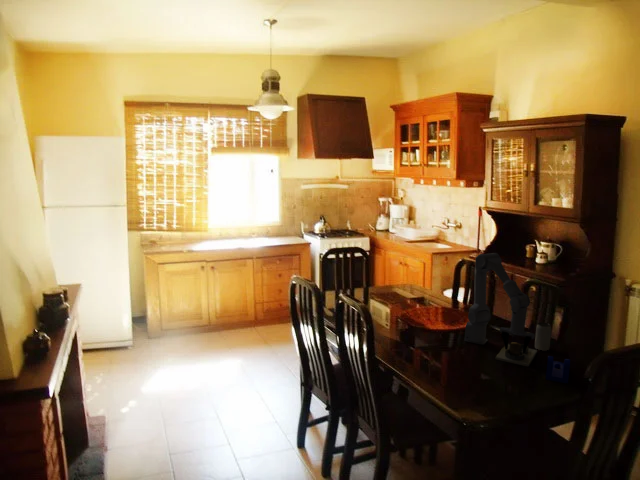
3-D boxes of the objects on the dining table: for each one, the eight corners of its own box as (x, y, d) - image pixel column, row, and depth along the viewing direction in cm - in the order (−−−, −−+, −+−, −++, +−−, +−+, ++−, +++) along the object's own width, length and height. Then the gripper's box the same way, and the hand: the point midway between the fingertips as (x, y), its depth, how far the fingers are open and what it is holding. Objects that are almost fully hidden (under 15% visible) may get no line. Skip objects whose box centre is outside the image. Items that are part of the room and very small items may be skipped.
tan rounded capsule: (508, 357, 237) (509, 344, 236) (511, 354, 240) (512, 341, 239) (518, 359, 234) (519, 346, 233) (521, 356, 238) (522, 343, 237)
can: (550, 351, 247) (553, 327, 245) (535, 350, 248) (538, 326, 246) (547, 346, 253) (550, 322, 251) (533, 345, 255) (535, 321, 252)
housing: (495, 359, 237) (496, 352, 236) (506, 345, 253) (506, 339, 253) (528, 366, 230) (529, 360, 229) (537, 352, 246) (537, 346, 246)
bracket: (567, 384, 214) (570, 363, 212) (545, 379, 217) (547, 359, 216) (568, 367, 230) (570, 348, 228) (547, 364, 233) (549, 344, 232)
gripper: (498, 320, 235) (496, 349, 237) (533, 327, 228) (530, 357, 230) (502, 316, 241) (500, 345, 243) (536, 322, 233) (533, 352, 236)
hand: (515, 350), depth 237 cm, fingers open, 7 cm apart
